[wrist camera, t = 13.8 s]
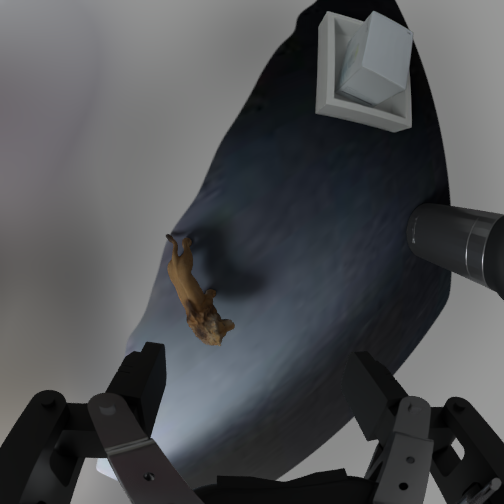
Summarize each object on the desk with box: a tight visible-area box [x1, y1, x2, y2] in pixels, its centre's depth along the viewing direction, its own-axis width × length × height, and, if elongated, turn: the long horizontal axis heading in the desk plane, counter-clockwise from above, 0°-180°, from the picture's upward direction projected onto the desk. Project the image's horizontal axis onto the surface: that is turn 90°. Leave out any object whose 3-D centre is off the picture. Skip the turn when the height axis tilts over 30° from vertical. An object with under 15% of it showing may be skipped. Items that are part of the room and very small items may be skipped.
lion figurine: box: [166, 234, 235, 346], centre depth 35 cm, size 15×5×9 cm, turn 31°
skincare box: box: [334, 11, 413, 108], centre depth 28 cm, size 10×6×10 cm, turn 163°
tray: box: [315, 11, 412, 132], centre depth 32 cm, size 13×16×5 cm
